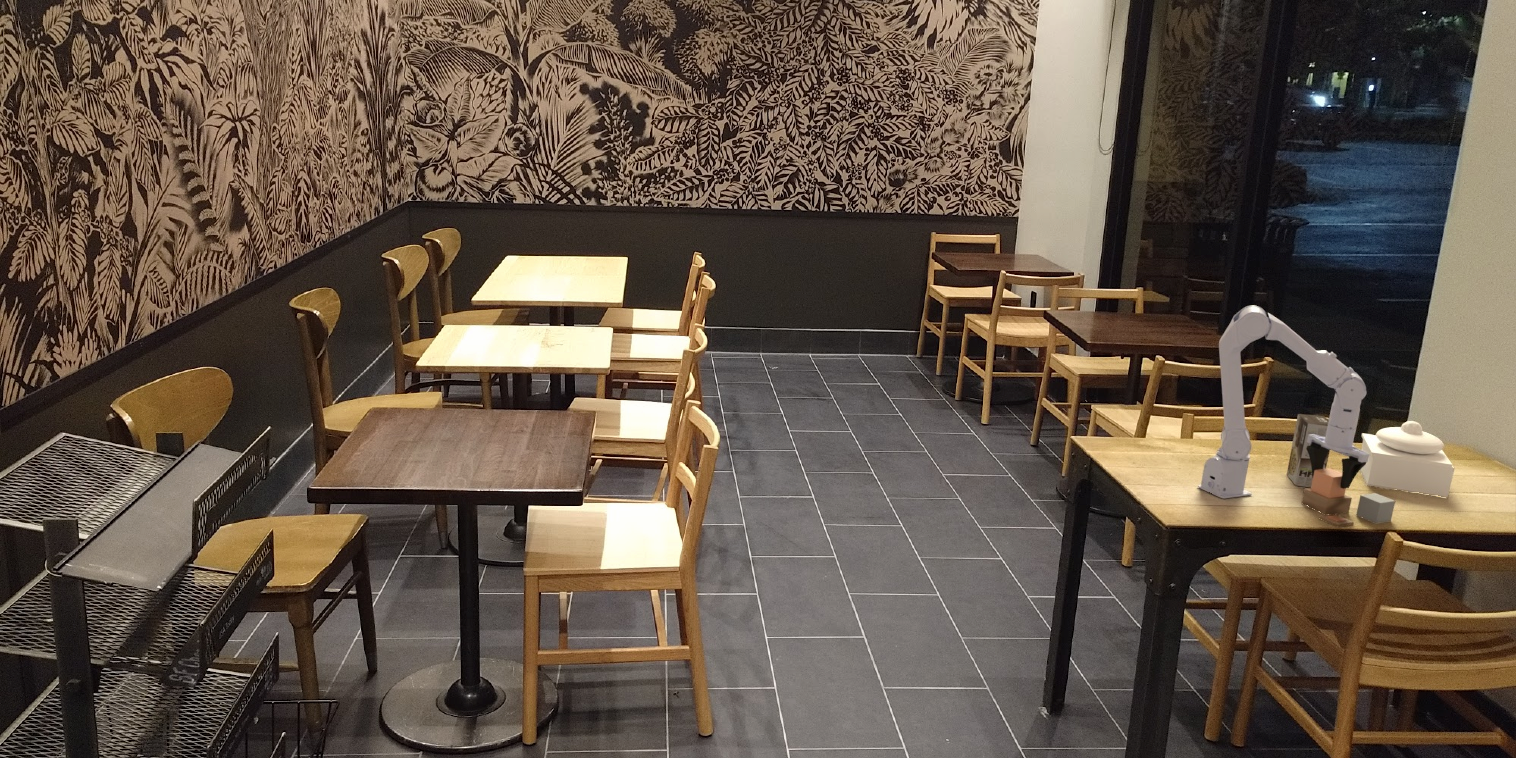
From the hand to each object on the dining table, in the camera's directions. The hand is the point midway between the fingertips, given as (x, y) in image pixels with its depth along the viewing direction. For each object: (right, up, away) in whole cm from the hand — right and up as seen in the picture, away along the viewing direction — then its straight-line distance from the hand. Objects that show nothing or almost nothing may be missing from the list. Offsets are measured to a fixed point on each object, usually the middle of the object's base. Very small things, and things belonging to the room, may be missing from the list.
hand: (1330, 481), depth 256 cm
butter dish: (+30, -2, +24) cm, 39 cm away
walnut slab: (0, -6, +2) cm, 7 cm away
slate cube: (+8, -8, -3) cm, 12 cm away
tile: (-2, -8, -7) cm, 11 cm away
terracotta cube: (0, -3, +1) cm, 3 cm away
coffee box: (+3, -2, +19) cm, 20 cm away
